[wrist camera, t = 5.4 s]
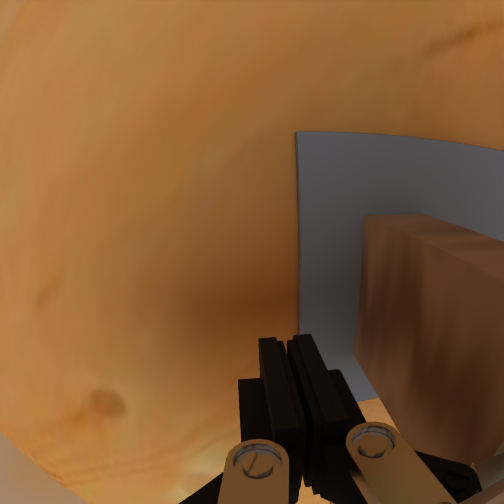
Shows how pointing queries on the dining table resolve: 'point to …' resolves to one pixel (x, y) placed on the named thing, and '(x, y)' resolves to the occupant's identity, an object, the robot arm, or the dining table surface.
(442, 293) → the walnut slab
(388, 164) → the rubber mat
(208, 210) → the dining table surface
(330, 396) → the robot arm
